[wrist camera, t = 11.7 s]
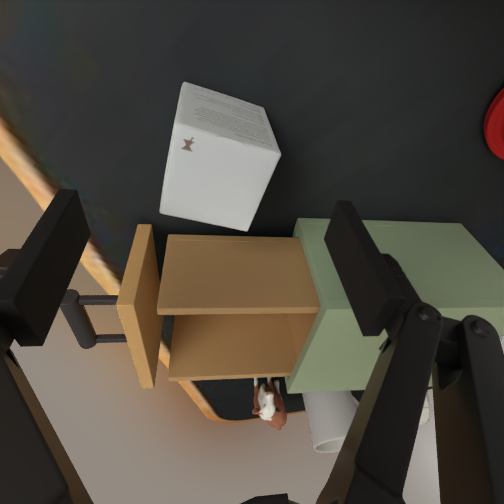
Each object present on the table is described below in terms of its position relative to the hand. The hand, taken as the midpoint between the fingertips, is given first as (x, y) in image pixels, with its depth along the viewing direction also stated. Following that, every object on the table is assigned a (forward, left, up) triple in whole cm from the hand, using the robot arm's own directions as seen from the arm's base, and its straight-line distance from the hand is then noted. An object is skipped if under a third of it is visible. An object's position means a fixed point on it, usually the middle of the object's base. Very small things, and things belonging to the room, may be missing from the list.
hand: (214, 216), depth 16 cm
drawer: (+15, -1, -9) cm, 18 cm away
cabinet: (+15, +17, -10) cm, 25 cm away
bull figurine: (+42, +10, -10) cm, 44 cm away
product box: (0, 0, -10) cm, 10 cm away
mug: (+48, +23, -10) cm, 54 cm away
